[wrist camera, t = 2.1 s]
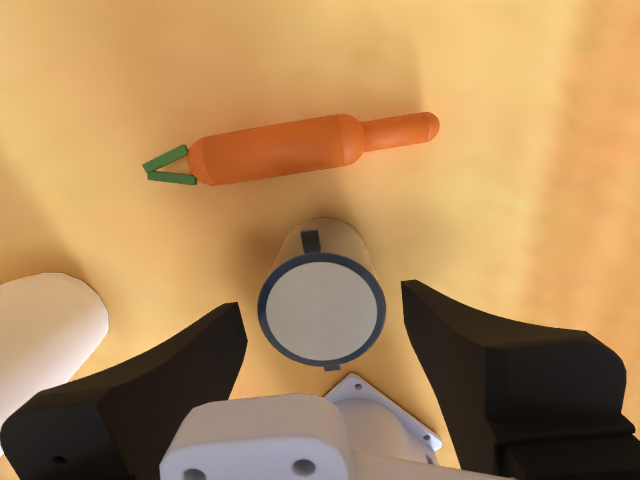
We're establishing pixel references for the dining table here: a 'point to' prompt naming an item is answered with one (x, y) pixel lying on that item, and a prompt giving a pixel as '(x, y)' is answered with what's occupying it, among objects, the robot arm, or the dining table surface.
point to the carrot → (291, 148)
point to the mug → (322, 296)
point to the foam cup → (45, 335)
